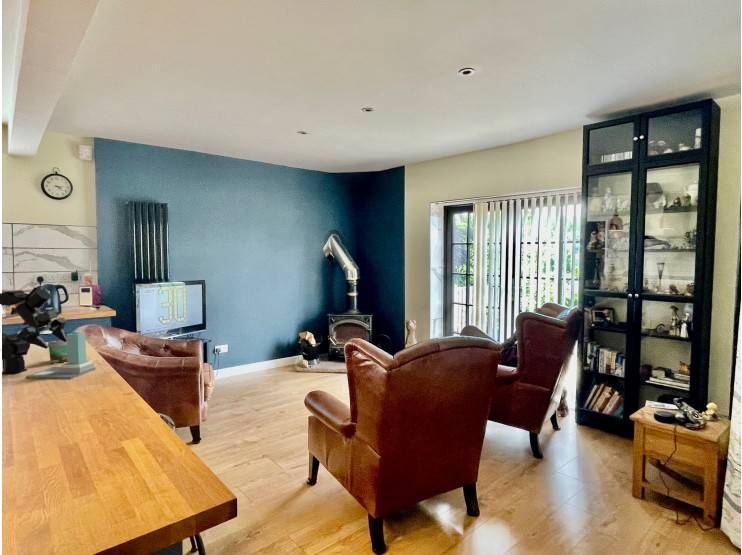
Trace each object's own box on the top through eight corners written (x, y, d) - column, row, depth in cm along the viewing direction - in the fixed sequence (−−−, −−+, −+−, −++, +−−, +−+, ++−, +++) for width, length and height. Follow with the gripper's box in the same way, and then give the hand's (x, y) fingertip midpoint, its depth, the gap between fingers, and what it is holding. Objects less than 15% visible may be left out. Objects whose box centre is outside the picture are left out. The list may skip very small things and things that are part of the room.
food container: (62, 365, 190) (61, 342, 189) (48, 365, 190) (47, 342, 189) (81, 358, 202) (80, 336, 202) (68, 358, 202) (67, 336, 202)
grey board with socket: (25, 378, 170) (25, 368, 170) (53, 368, 184) (53, 359, 184) (71, 378, 169) (70, 368, 169) (95, 369, 183) (94, 359, 183)
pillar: (67, 366, 176) (66, 332, 175) (75, 363, 180) (74, 330, 180) (78, 366, 176) (77, 332, 175) (86, 363, 180) (85, 330, 180)
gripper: (21, 307, 166) (49, 338, 167) (61, 298, 185) (86, 326, 185) (4, 326, 168) (31, 356, 169) (45, 315, 187) (70, 342, 187)
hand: (56, 344), depth 177 cm, fingers open, 9 cm apart
